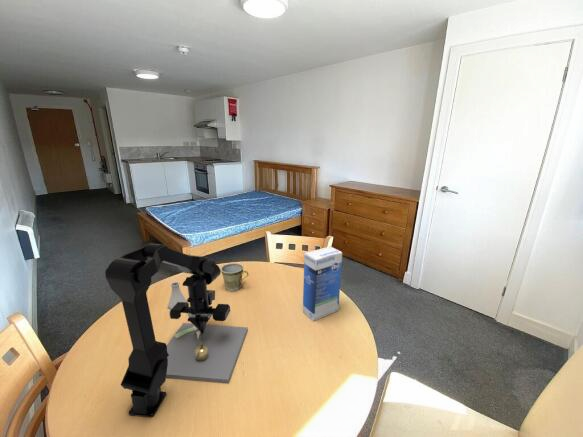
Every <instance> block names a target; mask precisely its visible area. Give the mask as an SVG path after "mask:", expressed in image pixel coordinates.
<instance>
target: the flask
mask: <svg viewBox="0 0 583 437" xmlns="http://www.w3.org/2000/svg"><path fill="white" fill-rule="evenodd" d="M170 287H171V294H170V298H169V301H168V305H167V309H169V310H171V309H172V308H173V307H174V306H175V305H176V303H177V302H187V299H186V298H185V296H184V294H183V293H182V291H181V287H180V282H179V281H173V282H171V283H170ZM187 303H188V302H187Z"/></svg>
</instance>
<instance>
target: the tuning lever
mask: <svg viewBox="0 0 583 437" xmlns="http://www.w3.org/2000/svg"><path fill="white" fill-rule="evenodd" d="M193 328H194V334H196V335H197V341H198V346H197V347H196V349H195V354H196V359H197V360H198V361H203V360H205V359H206V358H207V357H208V347H207V345H204V344H202V339H201V332H200V331H199V330H198V329H197V327H196V326H195V325H193Z"/></svg>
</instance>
